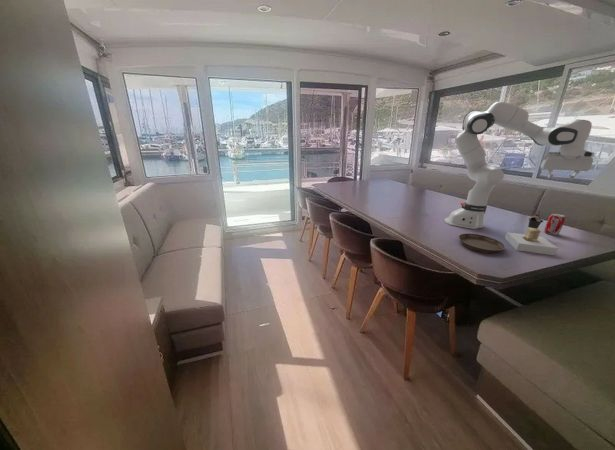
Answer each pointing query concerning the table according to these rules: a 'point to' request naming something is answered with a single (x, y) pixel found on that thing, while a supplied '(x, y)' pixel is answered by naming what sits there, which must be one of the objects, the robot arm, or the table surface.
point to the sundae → (534, 221)
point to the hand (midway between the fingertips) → (560, 178)
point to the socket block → (531, 244)
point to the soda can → (554, 224)
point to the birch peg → (532, 234)
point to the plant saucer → (481, 243)
